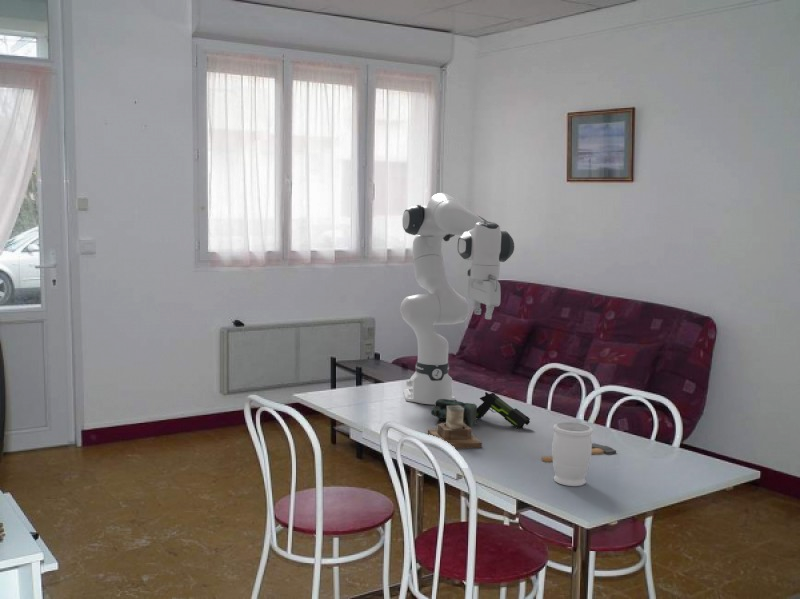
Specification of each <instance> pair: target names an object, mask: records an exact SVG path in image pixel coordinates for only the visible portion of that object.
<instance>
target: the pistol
mask: <svg viewBox="0 0 800 599" xmlns="http://www.w3.org/2000/svg"><path fill="white" fill-rule="evenodd" d="M484 394H485V395H483V396H481V397H479V399H480V400H481V401H482V403H481V404H480V405H479V406H477V414H476V420H481V418H483V417H484V416H485V415H486V414H487V413H488V411H489V410H490V411H491V412H492V413H497V414H499V415H500V416H502V417H503V418H504V419H505V421H507V422H508V423H509V424H510V425H512V426H513V427H514V428H516V429H517V430H518V429H521V428H523V427H524V426H525V425H526V426H528V425H529V424H530V422H531V421H530V420H531V418H530V417H529V416H527V415H526V414H524V412H522V411H520V410H519V409H518V408H513V407H512V406H511V405H509V404H508V403H507V402H505V401H504V400H503V399H502V398H500V396H498V395H497V394H496V393H495V392H491V393H488V392H487V391H485V392H484Z"/></svg>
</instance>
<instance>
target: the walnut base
mask: <svg viewBox="0 0 800 599" xmlns="http://www.w3.org/2000/svg"><path fill="white" fill-rule="evenodd" d="M472 431H473V429H472V428H471V427H470V425H466V424H465V423H464V422H463V429H448V428H447V427H446V422H441V423H437V428H433V429H432V428H429V429H427V435H428V434H430V435H433V436H436V437H438V438H441V439H442V440H444V441H447V442H448V443H450V444H451V445H452V446H454V447H455V448H456V449H455V450H458V449H459V450H460V449H480V448H482V447H483V446H482V442H481V441H480V440H479V439H478V438H477V437H475V436H474V435H473V434H472V433H473V432H472Z"/></svg>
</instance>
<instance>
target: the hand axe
mask: <svg viewBox="0 0 800 599" xmlns="http://www.w3.org/2000/svg"><path fill="white" fill-rule="evenodd" d="M596 454H597V455H613V454H617V450H616V449H615V448H613V447H611V446H608V445H603V444H599V443H595V442H593V443H592V453H591V456H594V455H595V456H596ZM541 460H542V462H543V463H553V457H552V455H551V456H545V455H544V456H542V457H541Z"/></svg>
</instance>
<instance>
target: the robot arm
mask: <svg viewBox="0 0 800 599" xmlns="http://www.w3.org/2000/svg"><path fill="white" fill-rule="evenodd" d="M401 219H402V220H401V221H402V228H403V231H404V232H405V233H407V234H408V235H412V236H415V237H414V239H413V241H412V261H413V262H412V263H413V270H414V276H415V282H416V284H417V285H418V286H419V287H420V288H422V289H424V290H426V291H428V293H429V294H426V293H425V294H423V293H422V294H420V293H419V294H413V295H408V296H406V297H404V299H402V301H401V304H400V306H399V307H400V308H399V312H400V316H401V318H402V320H403V321H404V322H405V323H406V324H407V325H408V326H410V328H411V329H412V330H413V332H414V334H415V337H416V341H417V361H416V363H415V368H414V369H415V370H414V371H415V372H414V373H413V374H412V375H411V377H409V378H410V379H407V380H406V387H408V388H405V389H403V395H404V400H405V401H407V402H412V403H418V404H423V405H424V404H425V405H435V403H436V401H437V400H439V399H448V400H454V401H457V400H456V399H457V398H456V396H454V395H453V378H452V377H451V376H450V375H449V371H450V363H449V346H450V344H449V342H448V339H447V338H446V337H445V336H442V335H441V334H440V333H437V332H436V330H435V325H438V326H439V325H443V326H444V325H447V326H448V325H449V326H450V325H452V326H453V325H457V324H461V323H465V322H466V320H467V319H468V317H469V315H470V304H469V302H468V300H467V298H465V296H462V295H461V294H460V293H458V292H457V291H456V290H455V289H454V287H453V286H452V284H451V283H450V282H449V280H448V277H447V275H446V269H445V265H444V258H443V253H442V249H441V248H442V247H441V246H442V241H445V242H448V241H450V239H451V238H453V237H455V235H456V236H459V237H458V240H457V253H458V254H459V256H460V257H461V258H462V259H463V260H467V261H471V267H470V268H468V269H467V270H466V275H467V277H468V278H467V295H468V298H469V299H471V300H473V301H472V302H473V308H474V313H473V314H474V315H478V316H479V315H482V308H481V304H483V305H485V308H486V311H485V312H484V319H486V320H492V316H493V313H494V310H495V307H499V306H500V305H501V294H502V292H501V289H502V288H501V283H500V282H499V281H498V280H500V269H501V268H500V267H501V263H505V262H506V261H508V259H510V258H511V256H512V255H513V254H514V252H515V242H514V239H513V237H512V236H511V234H510V233H509V232H508V231H505V230H501V228H500V225H499V224H497V223H495V222H494V221H493V222H492V221H487V219H485V218H483V217H481V216H480V215H478V214H476V213H474V212H473V211H471V210H470V209H468V208H466V207H465V206H464V205H462V203H460V202H459V201H458V200H457V199H456V198H454V197H453V196H451V195H449V194H447V193H446V192H445V193H444V192H438V193H436V194H433V196H431V198H429V201H428V204H427V205H421V204H417V205H412V206H409V207H407V208H406V209H405V210H404V212H403V214H402V218H401Z"/></svg>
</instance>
